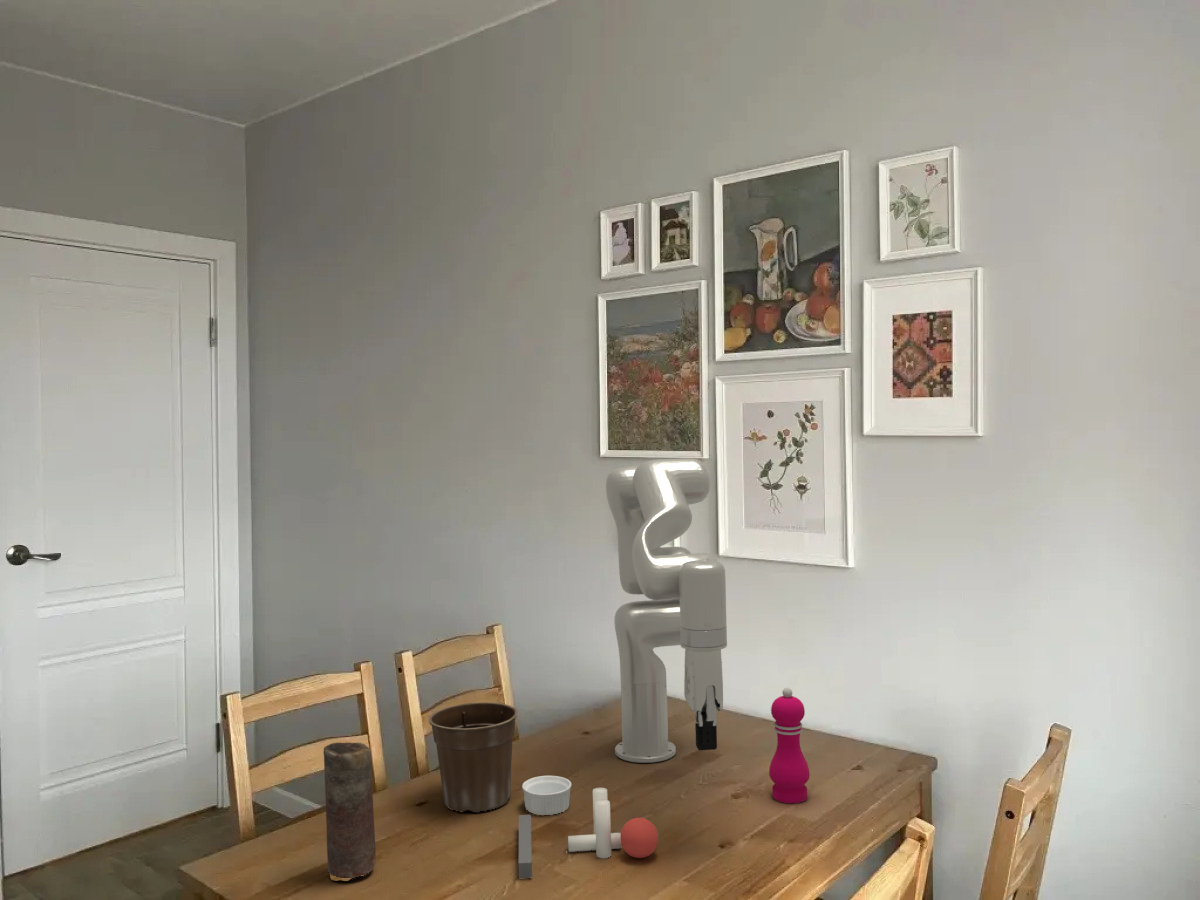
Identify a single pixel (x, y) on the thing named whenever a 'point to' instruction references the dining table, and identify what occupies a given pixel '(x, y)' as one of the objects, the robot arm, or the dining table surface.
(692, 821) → the dining table surface
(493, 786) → the plant pot
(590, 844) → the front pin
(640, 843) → the ball
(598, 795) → the pin
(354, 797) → the candle
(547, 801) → the ramekin
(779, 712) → the pepper mill
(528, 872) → the gray square bar
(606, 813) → the pin
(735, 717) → the dining table surface
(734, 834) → the dining table surface
